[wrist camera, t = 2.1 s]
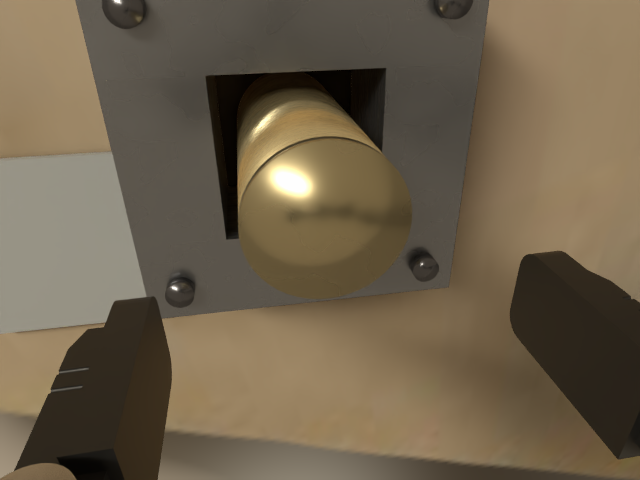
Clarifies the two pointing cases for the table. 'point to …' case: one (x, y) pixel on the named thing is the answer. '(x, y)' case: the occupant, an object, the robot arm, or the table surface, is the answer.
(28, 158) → the rubber mat
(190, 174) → the grey square socket block
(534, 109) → the table surface
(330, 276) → the brass cylindrical shaft
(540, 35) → the table surface
